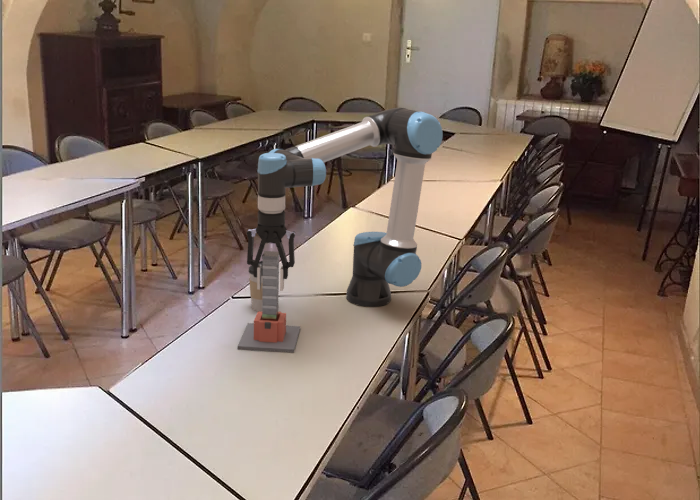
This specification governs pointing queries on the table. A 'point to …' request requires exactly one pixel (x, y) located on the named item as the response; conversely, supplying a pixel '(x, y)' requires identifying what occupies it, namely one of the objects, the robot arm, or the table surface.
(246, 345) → the stand
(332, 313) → the table surface
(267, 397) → the table surface
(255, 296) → the coffee cup
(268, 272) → the column
